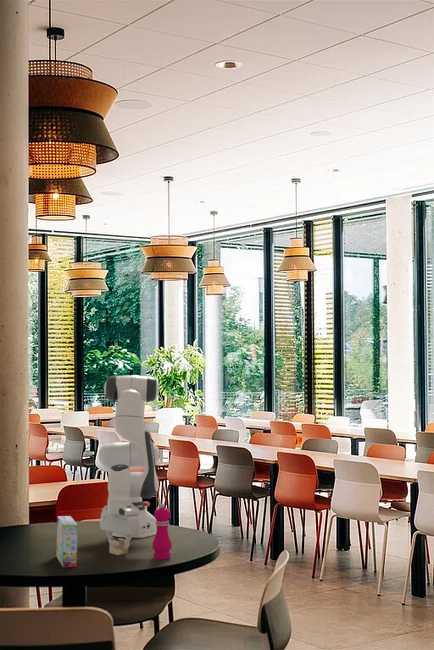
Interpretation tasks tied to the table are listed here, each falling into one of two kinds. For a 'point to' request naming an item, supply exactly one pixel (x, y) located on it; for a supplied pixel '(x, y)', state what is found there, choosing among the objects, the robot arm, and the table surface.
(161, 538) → the pepper mill
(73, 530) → the snack box
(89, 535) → the table surface
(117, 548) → the letter cube
